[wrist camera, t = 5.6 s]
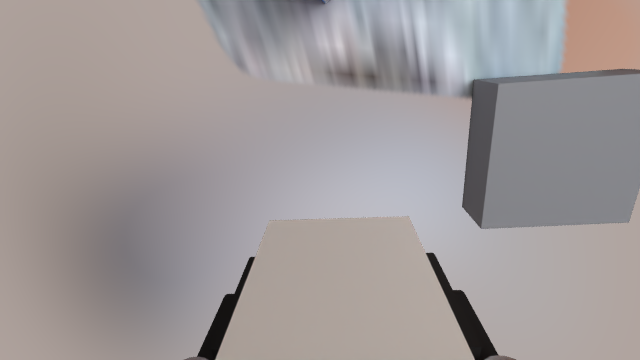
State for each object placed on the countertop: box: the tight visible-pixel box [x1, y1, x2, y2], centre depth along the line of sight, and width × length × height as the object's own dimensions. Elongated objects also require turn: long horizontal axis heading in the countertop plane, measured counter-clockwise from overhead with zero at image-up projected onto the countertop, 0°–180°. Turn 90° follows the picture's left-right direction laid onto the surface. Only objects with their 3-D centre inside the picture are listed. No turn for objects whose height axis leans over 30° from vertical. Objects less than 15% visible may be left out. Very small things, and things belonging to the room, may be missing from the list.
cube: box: [215, 216, 475, 360], centre depth 10 cm, size 5×5×6 cm
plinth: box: [462, 69, 640, 229], centre depth 25 cm, size 11×11×4 cm
